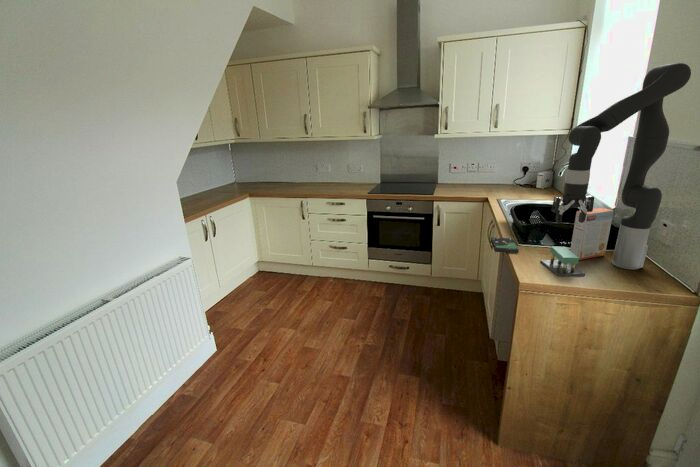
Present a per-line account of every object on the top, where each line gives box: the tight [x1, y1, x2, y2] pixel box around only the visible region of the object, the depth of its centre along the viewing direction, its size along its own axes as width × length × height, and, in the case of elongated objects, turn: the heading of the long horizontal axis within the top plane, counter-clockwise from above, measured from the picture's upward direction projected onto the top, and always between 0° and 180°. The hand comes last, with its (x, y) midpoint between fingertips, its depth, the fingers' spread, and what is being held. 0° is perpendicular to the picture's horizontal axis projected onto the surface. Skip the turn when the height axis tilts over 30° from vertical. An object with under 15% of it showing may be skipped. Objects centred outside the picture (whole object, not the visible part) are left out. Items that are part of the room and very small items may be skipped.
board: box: [550, 245, 579, 265], centre depth 137 cm, size 12×6×2 cm, turn 171°
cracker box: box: [569, 207, 615, 261], centre depth 147 cm, size 14×6×21 cm, turn 105°
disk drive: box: [490, 236, 520, 254], centre depth 164 cm, size 10×3×15 cm
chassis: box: [540, 253, 586, 278], centre depth 138 cm, size 10×14×5 cm
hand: (569, 222), depth 133 cm, fingers open, 8 cm apart
